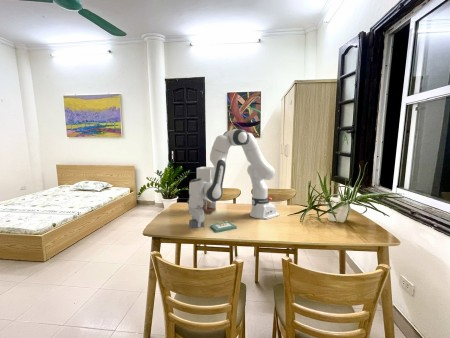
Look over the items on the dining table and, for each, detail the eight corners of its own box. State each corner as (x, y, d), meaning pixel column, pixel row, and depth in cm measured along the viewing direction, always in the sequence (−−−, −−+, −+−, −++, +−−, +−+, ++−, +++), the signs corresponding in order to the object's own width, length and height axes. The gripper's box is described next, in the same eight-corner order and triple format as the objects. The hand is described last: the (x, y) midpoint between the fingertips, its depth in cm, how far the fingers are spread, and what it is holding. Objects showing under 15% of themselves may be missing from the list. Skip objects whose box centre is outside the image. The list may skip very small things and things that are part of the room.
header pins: (226, 224, 148) (226, 220, 147) (226, 225, 147) (226, 220, 146) (219, 225, 145) (219, 221, 145) (220, 226, 145) (220, 221, 144)
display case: (197, 213, 176) (196, 168, 171) (203, 209, 185) (202, 166, 181) (210, 214, 172) (210, 169, 167) (216, 210, 181) (215, 167, 177)
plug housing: (201, 224, 151) (201, 217, 150) (203, 227, 147) (203, 219, 147) (189, 227, 147) (189, 219, 147) (191, 229, 144) (191, 221, 143)
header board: (229, 223, 154) (229, 221, 154) (236, 228, 145) (236, 226, 145) (210, 227, 148) (210, 224, 147) (216, 232, 139) (216, 230, 139)
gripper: (207, 207, 138) (207, 229, 139) (195, 199, 156) (195, 218, 157) (197, 208, 135) (197, 231, 137) (186, 200, 153) (186, 220, 155)
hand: (196, 224), depth 147 cm, fingers open, 8 cm apart
